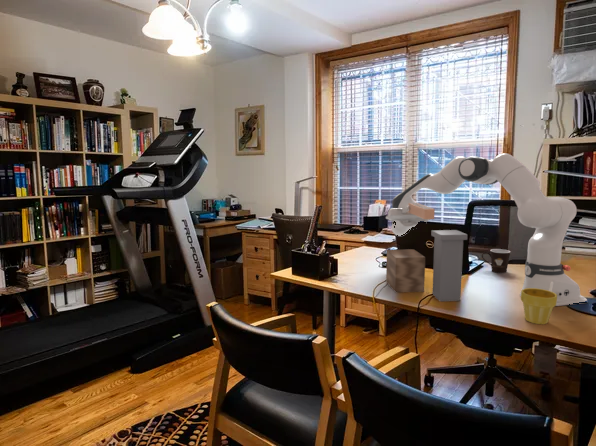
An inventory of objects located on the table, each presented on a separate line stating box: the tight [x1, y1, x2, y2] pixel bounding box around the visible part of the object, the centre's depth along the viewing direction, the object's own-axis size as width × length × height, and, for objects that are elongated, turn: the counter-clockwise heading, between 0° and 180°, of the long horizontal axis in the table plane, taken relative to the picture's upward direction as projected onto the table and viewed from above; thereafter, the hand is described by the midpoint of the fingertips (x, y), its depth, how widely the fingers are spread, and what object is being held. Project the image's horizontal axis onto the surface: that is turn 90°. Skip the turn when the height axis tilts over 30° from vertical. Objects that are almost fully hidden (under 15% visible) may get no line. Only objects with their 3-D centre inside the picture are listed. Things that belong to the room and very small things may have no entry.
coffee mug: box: [481, 248, 511, 274], centre depth 201 cm, size 12×9×10 cm
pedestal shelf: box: [430, 229, 468, 302], centre depth 162 cm, size 10×10×26 cm
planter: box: [408, 202, 435, 220], centre depth 177 cm, size 4×22×4 cm, turn 2°
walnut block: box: [385, 248, 426, 293], centre depth 178 cm, size 12×15×14 cm
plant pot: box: [520, 288, 557, 325], centre depth 139 cm, size 10×10×10 cm
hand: (414, 207), depth 185 cm, fingers closed on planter, 4 cm apart
